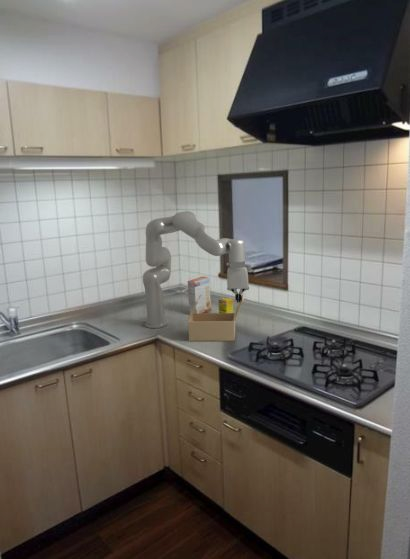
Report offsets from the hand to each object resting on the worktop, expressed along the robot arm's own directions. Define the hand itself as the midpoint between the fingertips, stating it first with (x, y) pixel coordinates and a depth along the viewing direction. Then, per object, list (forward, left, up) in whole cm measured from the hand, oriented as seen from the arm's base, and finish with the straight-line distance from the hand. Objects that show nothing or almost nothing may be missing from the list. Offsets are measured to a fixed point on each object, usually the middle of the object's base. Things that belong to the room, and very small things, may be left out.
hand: (238, 301), depth 208 cm
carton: (-13, 0, -18) cm, 22 cm away
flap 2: (0, 0, -3) cm, 3 cm away
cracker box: (-24, +41, -18) cm, 51 cm away
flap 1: (-22, 0, -3) cm, 22 cm away
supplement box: (-8, +31, -18) cm, 37 cm away
